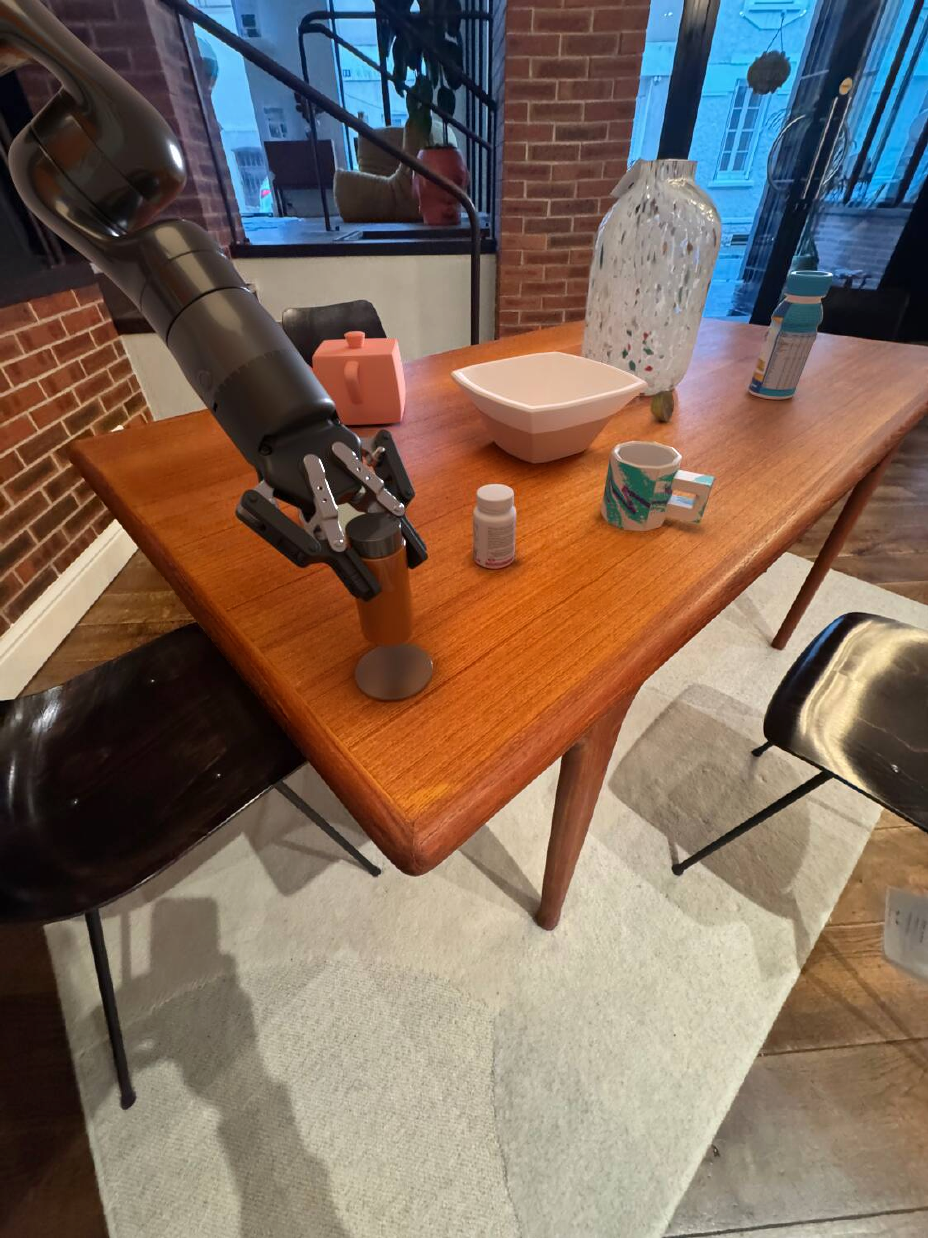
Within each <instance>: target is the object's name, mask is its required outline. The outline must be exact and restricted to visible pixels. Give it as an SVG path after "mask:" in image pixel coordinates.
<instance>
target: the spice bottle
mask: <svg viewBox="0 0 928 1238" xmlns="http://www.w3.org/2000/svg"><path fill="white" fill-rule="evenodd" d="M345 534H346V539H347V541H346V543H347V546H346V547H347V548H348V550H349V549H351V548H352V547H353V548H354V549H355V551H356V552H357V553H358V555H359V556H360V557H361V559H362V560H363V562H364V563H365V564H366V566H367V567H368V568H369V570H370V571H371V572H372V574H373V575H374V577H375V578H376V579H377V581H378V582H379V583H380V585H381V587H382V592H381V593H380V594H378V595H377V596H375V597H374V598H373V599H371V600H370V601H368V602H365V601H363V600H362V599H361V597H360V598H358V599H357V598H355V597H354V598H355V604H356V607H357V608H356V609H357V613H358V614H357V615H358V618H359V623H360V628H361V633H362V636H363V637H364V640H365V641H366V642H368V643H369V644H371V645H373V646H377V647H379V646H382V647H388V646H394V645H398V644H400V643H405V642H406V641H407V640H409V639H410V638H411V637H412V635H413V634H414V632H415V627H416V626H415V625H416V624H415V616H414V606H413V598H412V587H411V580H410V579H411V578H410V572H409V568H408V561H407V552H406V543H405V539H404V537H403V536H402V531H401V523H400V521H399V519H398V518H397V517H395V516H393V515H391V514H388V513H382V512H372V513H366V514H362V515H359V516H356V517H354V518H353V519H351V520H350V521H349V522H348V523H347V524H346V526H345Z"/></svg>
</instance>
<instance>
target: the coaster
mask: <svg viewBox="0 0 928 1238" xmlns="http://www.w3.org/2000/svg"><path fill="white" fill-rule="evenodd" d="M433 673H434V667H433V661H432V659H431V657H430V656H429V654H428V653H427V652H426V651H425V650H423V648H420V647H418V646H416V645H414V644H410V643H406V642H403V643H400V644H398V645H394V646H388V647H382V646H377V647H375V648H372V649H371V650H369V651H368V652H366V653H365V654H364V655H362V657H361V658H360V659H359V661H358V662H357V664H356V666H355V670H354V679H355V683H356V686H357V688H358V690H359V691H360V692H361V693H362V694H364V695H365V696H367V697H368V698H370V699H372V700H375V701H378V702H385V703H394V702H401V701H405V700H408V699H411V698H413V697H415V696H417V695H418V694H420V693H421V692H422V691H424V690H425V688H427V686H428V685H429V684H430V682H431V680H432V678H433Z"/></svg>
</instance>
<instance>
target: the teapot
mask: <svg viewBox="0 0 928 1238" xmlns="http://www.w3.org/2000/svg"><path fill="white" fill-rule="evenodd" d="M365 337H366V333H365V332H363V331H360V330H359V331H358V330H357V331H356V330H355V331H354V330H353V331H347V332H346V333H344V338H345V339H343V338H342V339H326V340H323V341H322V342H321V343H320V344H319V346H318V347H317V349H316V350H315V352H314V354H313V355H312V358H311V359H312V367H311V366H310V365H309V364H308V363H307V362H306V364H307V365H308V366H309V368H310V369H311V371H312V372H313V374H314V375H315V376H316V378H317V379H318V381H319V382H320V384H321V385H322V386H323V388H324V389H325V391H326V392H327V393H328V395H329V396H330V398H331V399H332V401H333V402H334V404H335V406H336V409H337V413H338V416H339V419H340V421H341V422H342V424H343V425H344V426H356V425H357V426H361V425H382V424H383V425H384V424H396V423H401V422H402V420H403V416H404V411H405V406H406V405H405V403H406V383H405V376H404V369H403V368H404V367H403V363H402V357H401V352H400V347H399V343H398V339H397V338H396V337H378V338H377V337H374V338H365Z"/></svg>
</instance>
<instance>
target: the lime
mask: <svg viewBox="0 0 928 1238" xmlns="http://www.w3.org/2000/svg"><path fill="white" fill-rule="evenodd" d="M674 401H675V400H674V394H673V392H671V390H670V389H663V390H660V391H658V392H657V393H655V395H654V396H653V398H652V400H651V402H650V407H649V410H650V413H651V414H652V416H653V417H654V418H656V419H657V420H659V421H661V422H668V421H670V420H671V418H672V417H673V413H674V410H675V409H674V408H675V402H674Z"/></svg>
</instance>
